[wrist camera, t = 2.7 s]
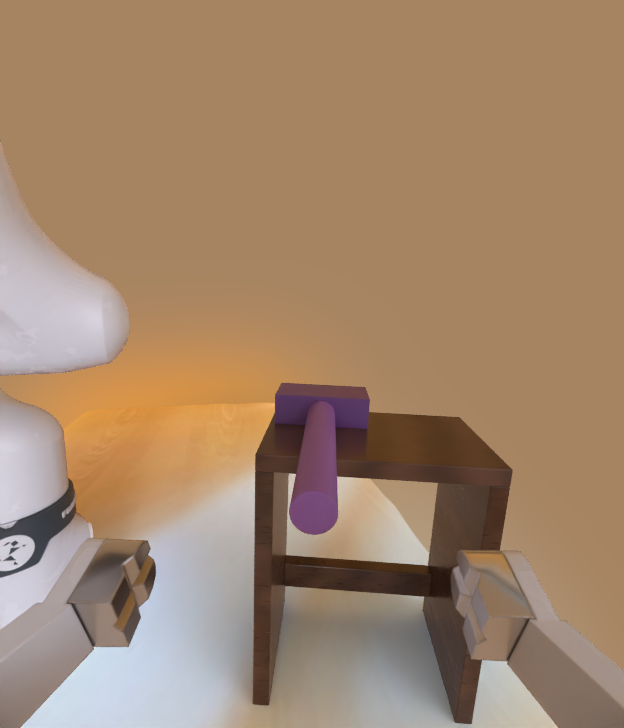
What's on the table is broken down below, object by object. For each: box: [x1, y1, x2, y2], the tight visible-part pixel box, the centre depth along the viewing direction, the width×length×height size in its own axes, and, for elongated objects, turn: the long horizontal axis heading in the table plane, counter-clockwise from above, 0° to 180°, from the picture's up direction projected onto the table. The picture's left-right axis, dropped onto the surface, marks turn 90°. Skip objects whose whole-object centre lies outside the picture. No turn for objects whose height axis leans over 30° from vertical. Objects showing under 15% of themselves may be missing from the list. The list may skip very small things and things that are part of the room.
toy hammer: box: [275, 383, 370, 535], centre depth 29 cm, size 20×9×3 cm, turn 177°
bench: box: [253, 412, 512, 724], centre depth 37 cm, size 20×12×25 cm, turn 87°
